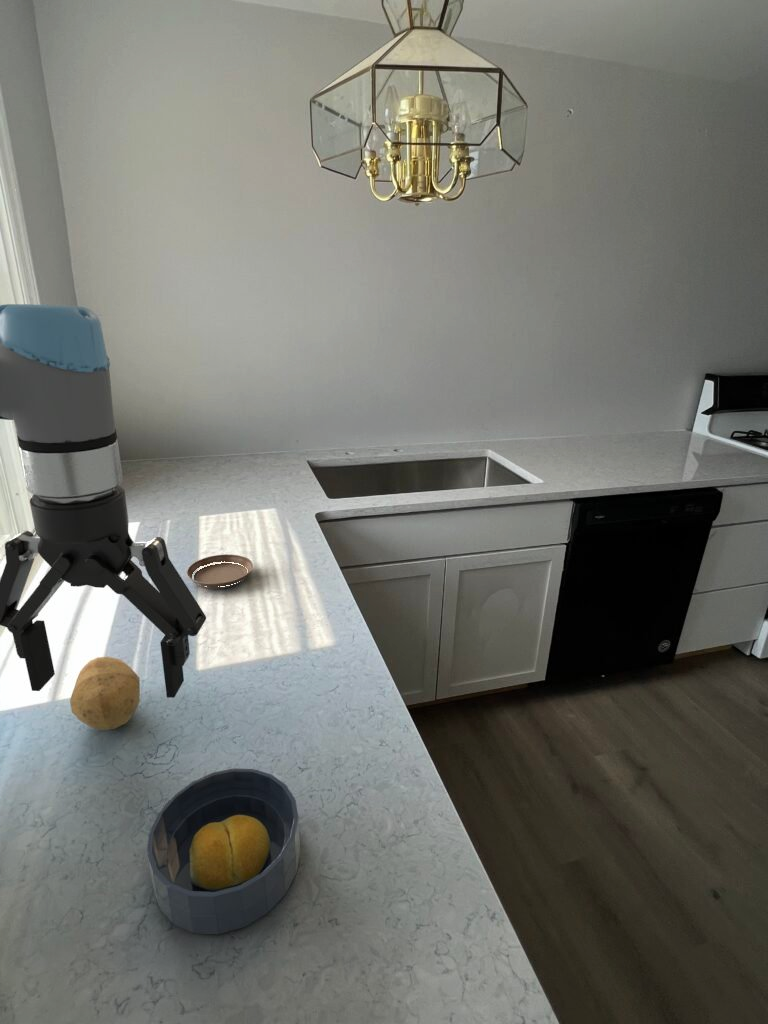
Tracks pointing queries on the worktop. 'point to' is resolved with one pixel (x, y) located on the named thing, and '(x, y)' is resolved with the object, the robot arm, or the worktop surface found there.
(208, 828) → the bread roll
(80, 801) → the worktop surface
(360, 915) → the worktop surface
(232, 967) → the worktop surface
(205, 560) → the saucer
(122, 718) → the potato
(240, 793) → the blue grey bowl
